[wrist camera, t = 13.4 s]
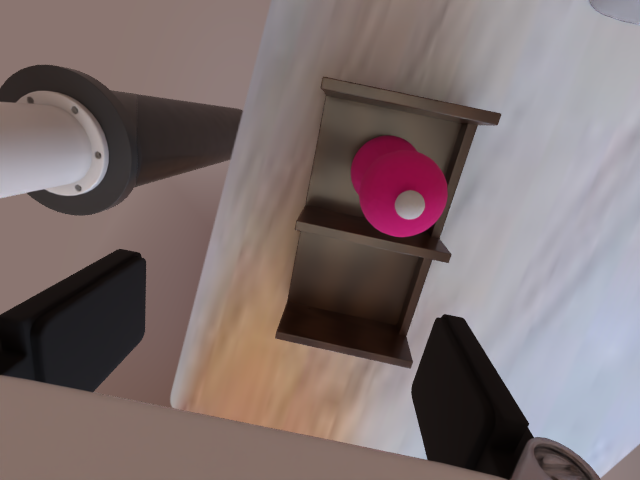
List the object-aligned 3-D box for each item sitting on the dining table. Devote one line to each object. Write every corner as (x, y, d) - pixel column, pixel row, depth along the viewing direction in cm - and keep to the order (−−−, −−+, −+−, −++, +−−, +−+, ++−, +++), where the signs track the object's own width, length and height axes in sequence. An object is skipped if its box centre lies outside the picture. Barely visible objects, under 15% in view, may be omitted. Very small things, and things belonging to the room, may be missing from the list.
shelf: (289, 297, 48) (275, 338, 39) (329, 88, 39) (322, 76, 30) (399, 321, 48) (410, 369, 39) (465, 116, 39) (501, 113, 29)
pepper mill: (427, 155, 38) (504, 186, 19) (391, 209, 40) (427, 285, 21) (372, 121, 37) (394, 118, 18) (339, 178, 39) (327, 228, 21)
